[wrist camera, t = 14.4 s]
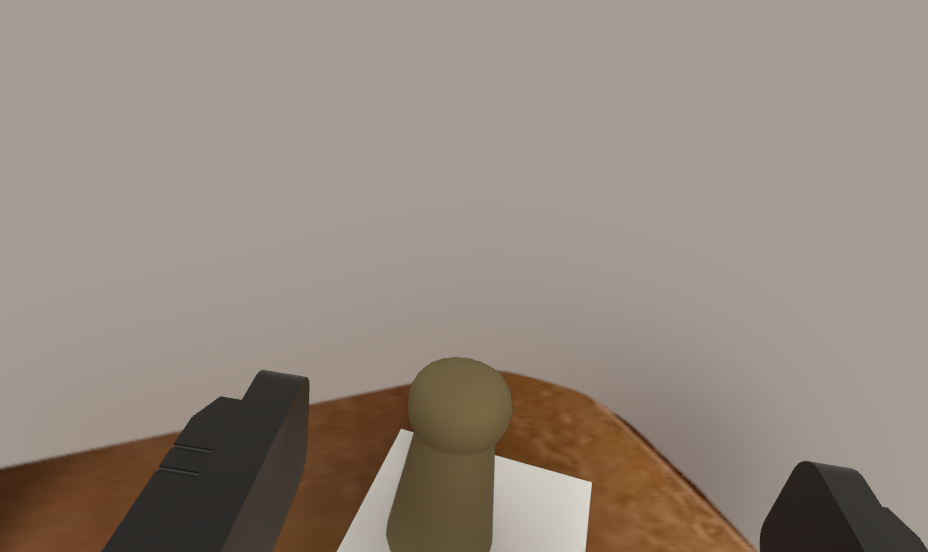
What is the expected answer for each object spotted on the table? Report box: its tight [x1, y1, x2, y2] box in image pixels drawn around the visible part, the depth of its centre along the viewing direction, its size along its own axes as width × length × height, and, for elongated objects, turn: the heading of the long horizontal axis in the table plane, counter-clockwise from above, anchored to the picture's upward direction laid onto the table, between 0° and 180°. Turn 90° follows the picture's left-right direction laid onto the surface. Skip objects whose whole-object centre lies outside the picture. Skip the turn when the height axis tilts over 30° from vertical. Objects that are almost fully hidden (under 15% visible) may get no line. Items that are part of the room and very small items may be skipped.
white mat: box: [337, 429, 592, 552], centre depth 36 cm, size 13×13×1 cm
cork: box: [386, 357, 512, 552], centre depth 33 cm, size 6×6×11 cm
